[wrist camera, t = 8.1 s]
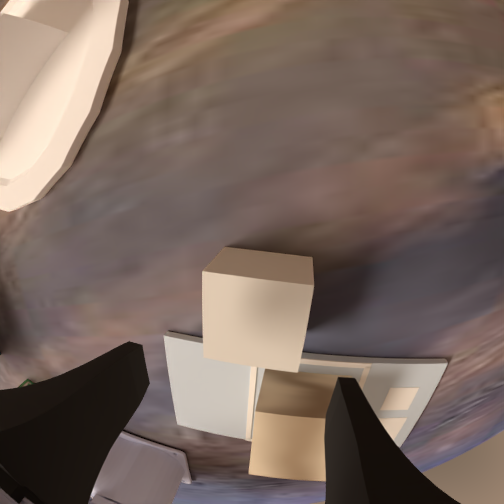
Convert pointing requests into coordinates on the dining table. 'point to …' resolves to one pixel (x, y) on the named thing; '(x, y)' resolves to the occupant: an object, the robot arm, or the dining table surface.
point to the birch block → (291, 425)
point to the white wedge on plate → (51, 87)
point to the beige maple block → (256, 308)
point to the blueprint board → (250, 378)
